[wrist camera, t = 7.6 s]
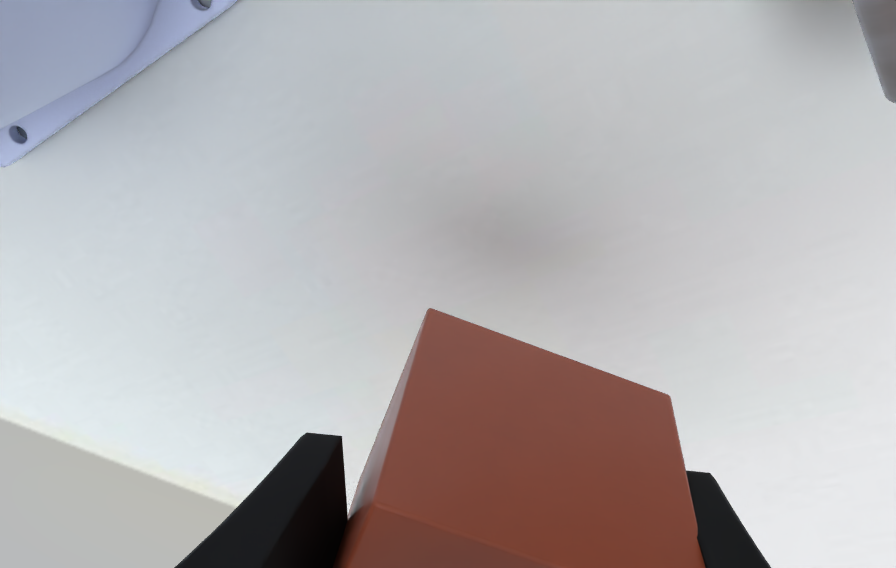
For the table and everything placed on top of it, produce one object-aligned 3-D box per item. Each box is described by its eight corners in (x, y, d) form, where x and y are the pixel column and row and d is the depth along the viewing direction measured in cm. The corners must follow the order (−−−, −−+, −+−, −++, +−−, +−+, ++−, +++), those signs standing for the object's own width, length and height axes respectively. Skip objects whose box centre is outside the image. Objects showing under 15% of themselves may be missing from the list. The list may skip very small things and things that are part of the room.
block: (565, 553, 15) (569, 791, 11) (358, 481, 15) (288, 699, 11) (671, 394, 13) (720, 623, 9) (428, 305, 12) (371, 502, 9)
